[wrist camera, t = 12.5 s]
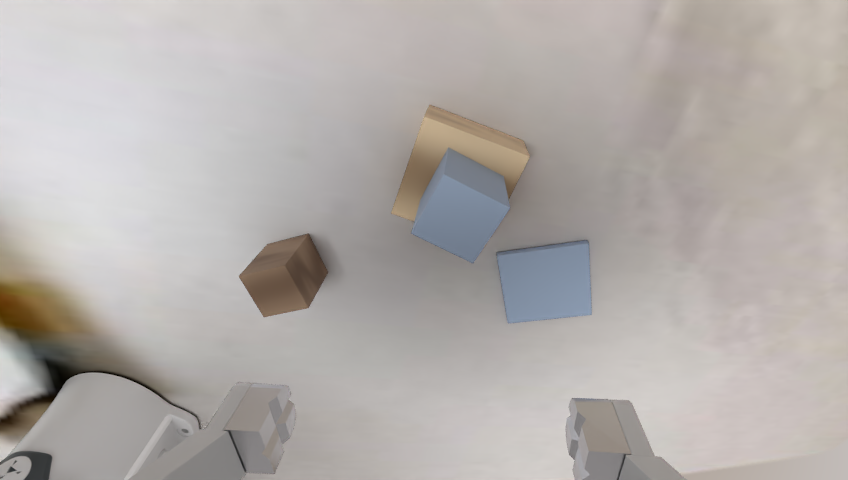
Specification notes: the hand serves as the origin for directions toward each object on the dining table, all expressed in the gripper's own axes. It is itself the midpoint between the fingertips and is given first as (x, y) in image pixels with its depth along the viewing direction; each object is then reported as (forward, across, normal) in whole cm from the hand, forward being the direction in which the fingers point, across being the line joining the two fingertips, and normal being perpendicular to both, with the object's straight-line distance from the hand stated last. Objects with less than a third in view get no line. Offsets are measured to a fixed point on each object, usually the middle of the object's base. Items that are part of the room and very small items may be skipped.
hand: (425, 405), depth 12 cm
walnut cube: (+21, +13, +8) cm, 26 cm away
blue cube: (+17, -1, 0) cm, 17 cm away
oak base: (+21, 0, 0) cm, 21 cm away
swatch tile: (+21, -8, +10) cm, 24 cm away
